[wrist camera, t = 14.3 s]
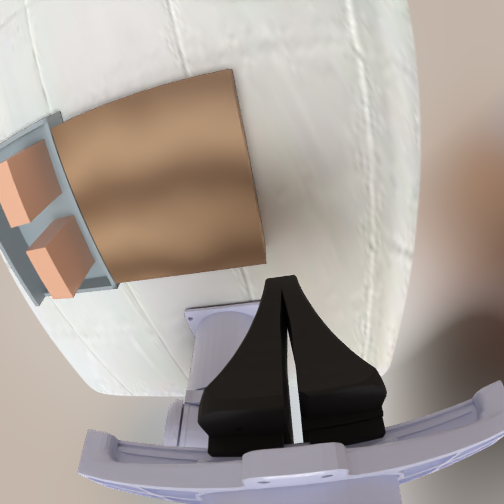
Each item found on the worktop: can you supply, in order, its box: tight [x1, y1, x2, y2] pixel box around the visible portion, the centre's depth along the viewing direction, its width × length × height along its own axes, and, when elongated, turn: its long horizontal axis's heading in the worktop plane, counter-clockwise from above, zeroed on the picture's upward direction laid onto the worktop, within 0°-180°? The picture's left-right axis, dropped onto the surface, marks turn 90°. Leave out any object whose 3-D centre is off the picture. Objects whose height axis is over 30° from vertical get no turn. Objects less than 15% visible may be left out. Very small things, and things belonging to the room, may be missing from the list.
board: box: [51, 69, 266, 283], centre depth 21 cm, size 14×13×2 cm
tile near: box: [0, 139, 62, 228], centre depth 18 cm, size 5×5×2 cm
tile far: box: [26, 215, 95, 299], centre depth 22 cm, size 5×5×2 cm
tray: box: [0, 112, 120, 306], centre depth 21 cm, size 16×10×4 cm, turn 10°
